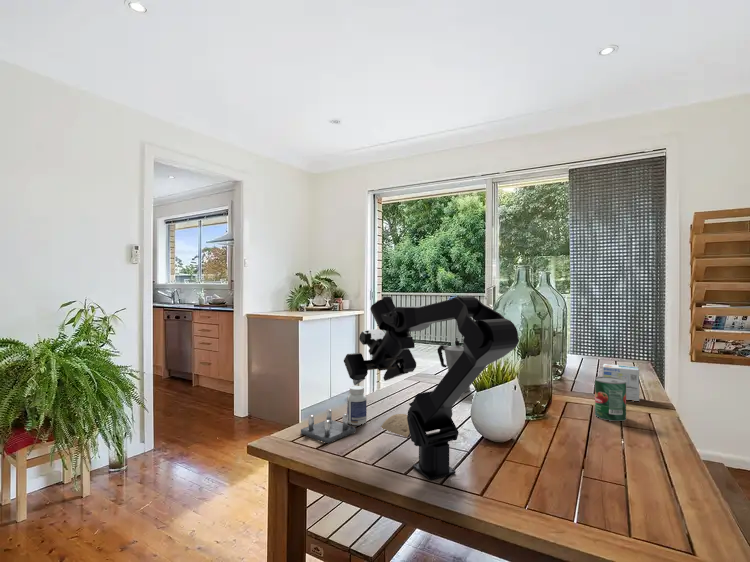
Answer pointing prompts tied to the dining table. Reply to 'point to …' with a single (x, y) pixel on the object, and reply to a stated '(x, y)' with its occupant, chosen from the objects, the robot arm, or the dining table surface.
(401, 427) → the clay tablet
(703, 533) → the dining table surface
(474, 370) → the robot arm
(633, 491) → the dining table surface
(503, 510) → the dining table surface
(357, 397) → the pill bottle
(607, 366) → the light bulb box
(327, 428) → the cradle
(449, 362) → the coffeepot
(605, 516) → the dining table surface
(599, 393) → the canned tomato
